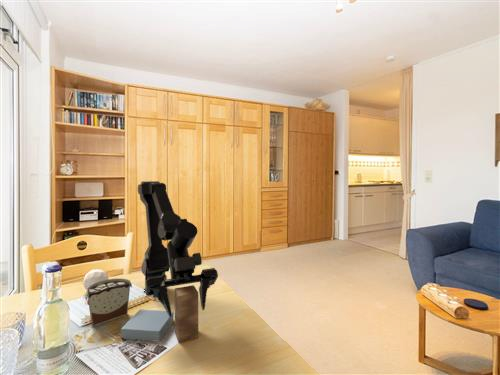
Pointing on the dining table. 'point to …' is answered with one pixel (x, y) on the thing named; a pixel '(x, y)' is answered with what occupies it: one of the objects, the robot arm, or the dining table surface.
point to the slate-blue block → (147, 325)
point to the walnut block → (186, 313)
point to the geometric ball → (94, 277)
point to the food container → (108, 300)
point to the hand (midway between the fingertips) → (187, 312)
